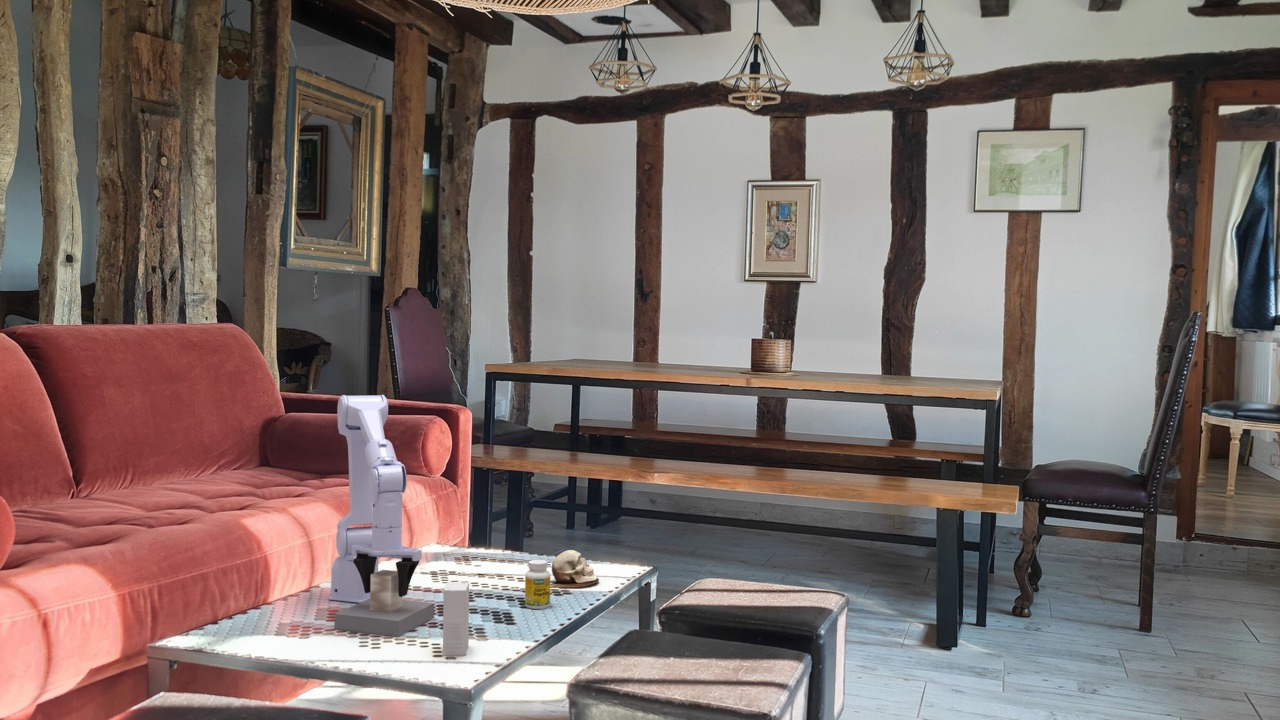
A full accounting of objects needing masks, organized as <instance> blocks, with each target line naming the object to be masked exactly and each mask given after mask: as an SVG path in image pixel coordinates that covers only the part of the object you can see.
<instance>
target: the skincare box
mask: <svg viewBox="0 0 1280 720" xmlns="http://www.w3.org/2000/svg"><path fill="white" fill-rule="evenodd" d="M442 599H443V600H442V601H443V609H442V610H443V611H442V613H443V615H442V622H443V623H442V624H443V625H442V656H447V657H448V656H450V657H451V656H458V657H459V656H462V657H463V656H466V655H467V653H468V652H467V651H468V648H469V637H470V636H469V634H470V633H469V629H470V628H469V623H470V622H469V621H470V619H469V618H470V617H469V616H470V615H469V613H470V610H469V608H470V582H469V581H467V582H466V581H463V582H461V581H449V582H448V581H447V582H446V583H445V587H444V589H443V598H442Z"/></svg>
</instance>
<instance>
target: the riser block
mask: <svg viewBox="0 0 1280 720" xmlns="http://www.w3.org/2000/svg"><path fill="white" fill-rule="evenodd" d="M434 618H435V603H434V602H428V601H427V602H426V601H415V600H407V599H402V607H400V608H398V609H396V610H394V611H392V612H385V611H376V610H370V599H367V600H365V601H363V602H360V603H356V604H354V605H352V606H349V607H347V608H345V609H343V610H341V611H338V612H336V613H334V630H337V631H338V630H339V631H346V632H347V631H348V632H356V633H364V634H373V635H382V636H390V637H396V638H397V637H400V636H403V635H404V634H406V633H409V632H410V631H412V630H414V629H416V628H417V627H419V626H421V625H423V624H425V623H427V622H429V621H430V620H433V619H434Z"/></svg>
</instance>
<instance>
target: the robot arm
mask: <svg viewBox="0 0 1280 720" xmlns="http://www.w3.org/2000/svg"><path fill="white" fill-rule="evenodd" d="M388 415H389V402H388V398H387V397H386V396H385V395H384V394H379V395H346V394H341V396H340V397H339V398H338V401H337V429H338V433H339V434H340V435H342V436H344V437H345V438H346V441H347V453H348V454H347V455H348V457H347V458H348V487H349V488H348V489H349V512H348V513H347V514H346V515H345V516H343V517H342V518H341V519H339V521H338V523H337V529H336V531H337V532H336V538H335V539H336V541H335V544H336V545H335V546H336V551H337V554H338V556H337V557H336V558H335V559H334V561H333V563H332V566H331V572H330V573H331V574H330V577H331V578H330V579H331V580H330V581H331V582H330V596H329V597H328V600H331V601H340V602H349V603H356V604H358V603H360V602H363V601H365V600H367V599H370V586H371V574H373V573H376V572H378V571H379V559H380V558H385V559H387V558H388V559H397V560H398V561H395V567H396V571H397V572H398V593H399V597H402V598H403V597H406V596H407V595H408V591H409V587H410V583H411V580H412V578H413V575H414V573H415V570H416V569H417V567H418V566H419V564H420V560H422V559H423V558H422V557H423V556H422V553H423V551H422V549H419V548H418V549H417V548H413V547H407V546H403V545H402V537H403V536H402V535H403V534H402V530H403V529H402V528H403V524H402V523H403V494H404V493H406V490H407V484H408V483H407V480H408V479H407V471H406V467H405V465H404V464H403V463H401V461H398V458H397V456H396V452H395V449H394V446H393V444H392V442H391V441H390V440H389V439H386V437H385V431H384V426H385V423H386V421H387V419H388ZM361 525H369V526H361ZM350 526H353V527H350ZM354 526H355V527H354Z"/></svg>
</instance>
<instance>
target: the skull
mask: <svg viewBox="0 0 1280 720" xmlns="http://www.w3.org/2000/svg"><path fill="white" fill-rule="evenodd" d="M551 573H552V576H553V577H554V578H553V579H554V580H555V581H553V582H552V583H550V587H555V588H579V587H580V588H581V587H586V586H591V585H593V584H597V583H598V582H599V580H600V578H598V576H597V575H596V574H595V572H594V568H593V567H592V566H591V565H590V563H588V562H587V559H586V558H585V557H582V553H581V552H578V551H577V550H572V549H567V550H565V551H562V552H561V553H560V554H558V555H556V557H554V558H553V560H552V563H551Z"/></svg>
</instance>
